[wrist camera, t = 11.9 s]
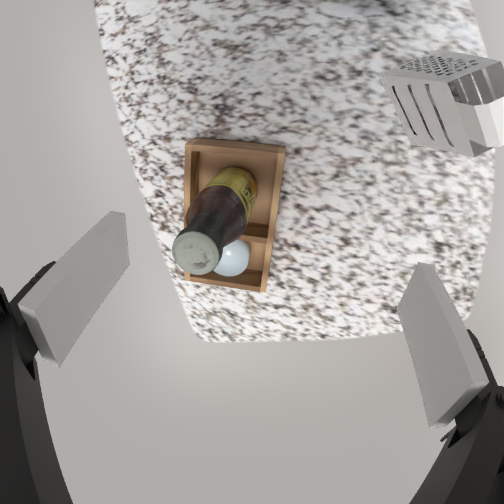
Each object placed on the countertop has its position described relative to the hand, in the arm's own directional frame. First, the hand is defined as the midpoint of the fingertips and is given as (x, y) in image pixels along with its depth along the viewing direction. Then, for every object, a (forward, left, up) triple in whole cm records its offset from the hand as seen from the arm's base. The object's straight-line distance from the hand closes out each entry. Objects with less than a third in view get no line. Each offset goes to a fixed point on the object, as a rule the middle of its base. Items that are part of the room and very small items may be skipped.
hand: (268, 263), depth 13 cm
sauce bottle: (+7, -6, -30) cm, 31 cm away
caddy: (+11, -6, -30) cm, 33 cm away
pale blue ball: (+16, -6, -29) cm, 34 cm away
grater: (-10, +18, -31) cm, 37 cm away
